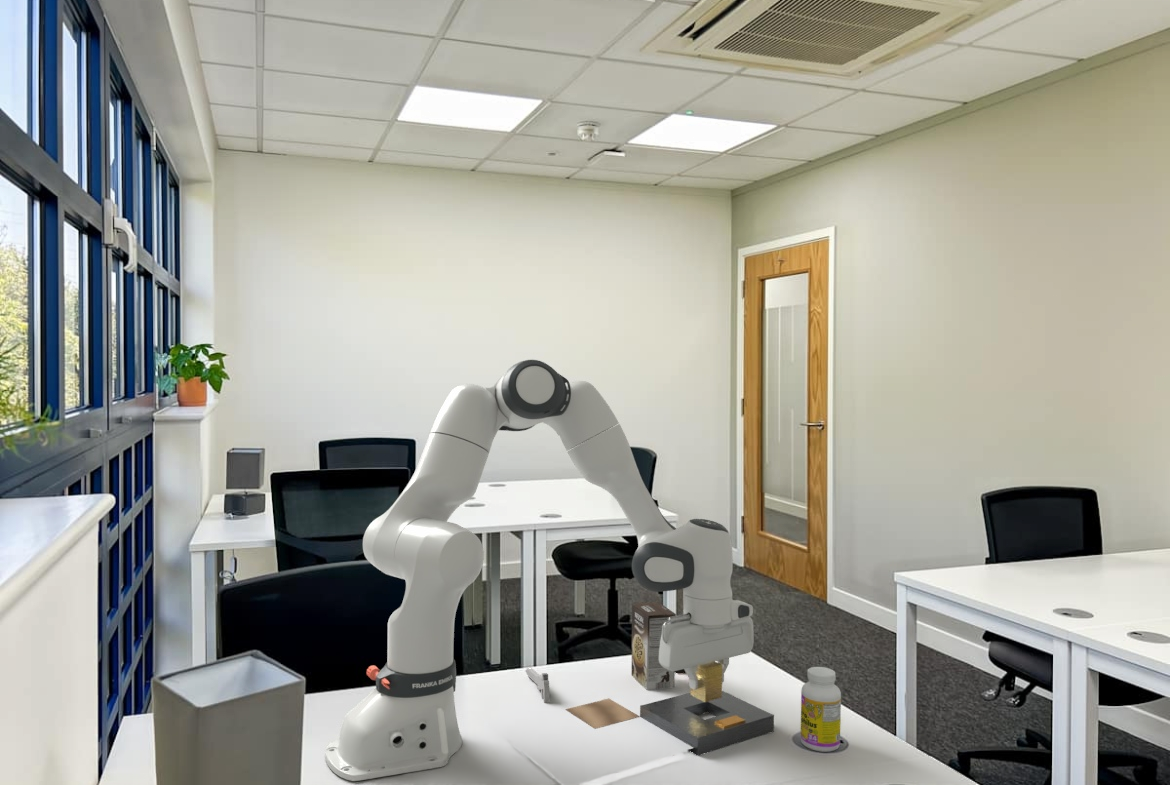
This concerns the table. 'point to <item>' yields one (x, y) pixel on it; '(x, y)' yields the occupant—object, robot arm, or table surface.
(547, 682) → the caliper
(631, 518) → the robot arm
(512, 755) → the table surface
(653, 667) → the coffee box
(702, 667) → the brass peg
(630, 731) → the table surface
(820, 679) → the supplement bottle
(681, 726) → the hole plate
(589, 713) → the copper pad
